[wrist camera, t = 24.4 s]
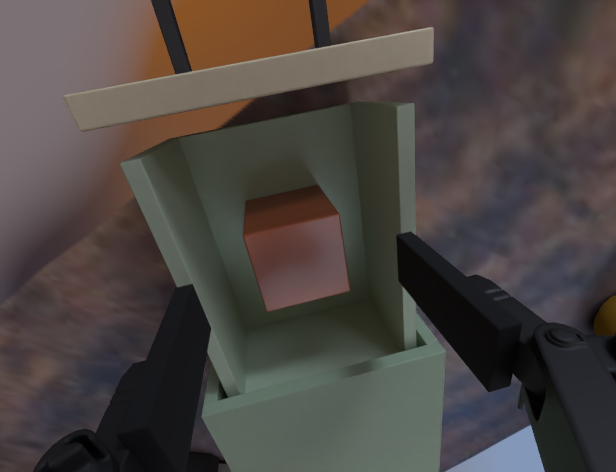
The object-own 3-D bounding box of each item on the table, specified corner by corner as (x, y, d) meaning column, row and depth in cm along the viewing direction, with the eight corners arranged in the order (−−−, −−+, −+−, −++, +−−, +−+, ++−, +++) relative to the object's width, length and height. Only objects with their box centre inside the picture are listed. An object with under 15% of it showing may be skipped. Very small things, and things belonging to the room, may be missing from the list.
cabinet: (219, 307, 25) (201, 417, 16) (383, 267, 26) (446, 351, 17) (271, 438, 34) (277, 554, 25) (392, 404, 35) (437, 505, 26)
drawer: (86, -43, 14) (-76, -177, 7) (354, -84, 15) (439, -238, 8) (232, 331, 25) (224, 421, 18) (381, 294, 26) (428, 366, 19)
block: (245, 200, 19) (242, 235, 14) (318, 184, 20) (340, 212, 15) (263, 263, 22) (266, 312, 17) (329, 248, 22) (350, 291, 17)
